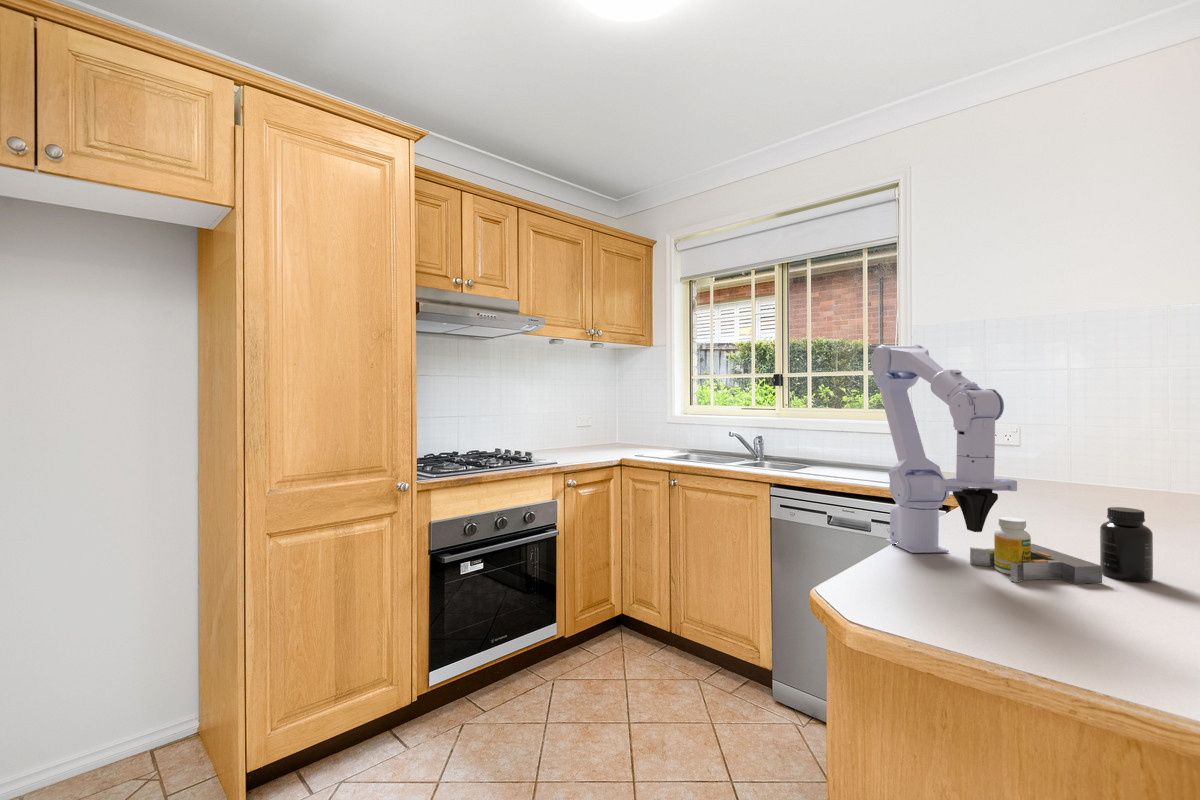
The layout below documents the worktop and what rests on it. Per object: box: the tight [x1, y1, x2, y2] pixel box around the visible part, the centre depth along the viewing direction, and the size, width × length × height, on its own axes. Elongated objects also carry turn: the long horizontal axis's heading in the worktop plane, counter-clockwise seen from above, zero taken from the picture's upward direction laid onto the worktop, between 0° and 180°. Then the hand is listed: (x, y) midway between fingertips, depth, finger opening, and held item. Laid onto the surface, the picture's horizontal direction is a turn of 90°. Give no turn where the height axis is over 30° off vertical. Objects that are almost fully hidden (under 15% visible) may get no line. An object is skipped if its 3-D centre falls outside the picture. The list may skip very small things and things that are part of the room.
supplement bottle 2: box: [1099, 506, 1154, 583], centre depth 99 cm, size 7×7×12 cm
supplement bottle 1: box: [993, 516, 1032, 575], centre depth 102 cm, size 5×5×10 cm
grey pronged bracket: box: [969, 543, 1103, 585], centre depth 102 cm, size 14×15×3 cm
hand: (974, 530), depth 101 cm, fingers closed
